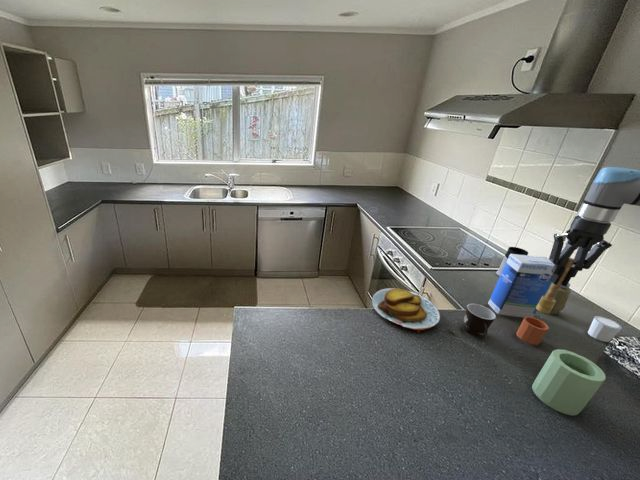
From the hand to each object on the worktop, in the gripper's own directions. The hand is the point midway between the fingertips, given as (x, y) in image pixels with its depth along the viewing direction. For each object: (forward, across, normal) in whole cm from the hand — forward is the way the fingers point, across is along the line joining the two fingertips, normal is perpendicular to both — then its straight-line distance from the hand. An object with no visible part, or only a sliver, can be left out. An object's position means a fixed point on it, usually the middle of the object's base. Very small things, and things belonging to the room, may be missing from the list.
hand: (557, 282), depth 94 cm
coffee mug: (+26, +19, +5) cm, 32 cm away
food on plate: (+26, +42, +1) cm, 49 cm away
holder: (+25, -12, -48) cm, 56 cm away
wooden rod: (+12, 0, 0) cm, 12 cm away
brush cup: (+25, 0, 0) cm, 25 cm away
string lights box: (+25, 0, -16) cm, 30 cm away
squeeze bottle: (+25, -17, -25) cm, 39 cm away
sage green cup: (+25, +3, +26) cm, 36 cm away
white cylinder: (+25, -27, -13) cm, 40 cm away
